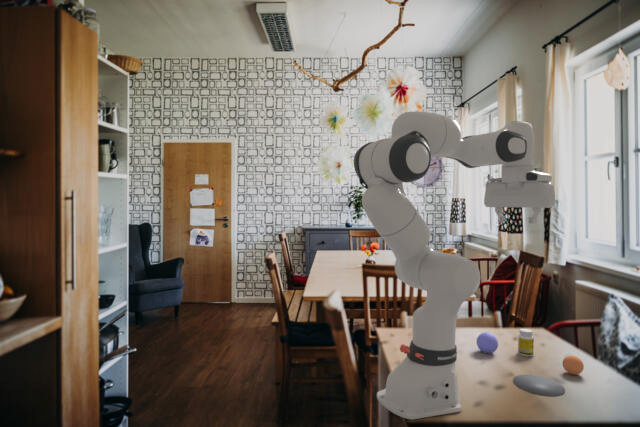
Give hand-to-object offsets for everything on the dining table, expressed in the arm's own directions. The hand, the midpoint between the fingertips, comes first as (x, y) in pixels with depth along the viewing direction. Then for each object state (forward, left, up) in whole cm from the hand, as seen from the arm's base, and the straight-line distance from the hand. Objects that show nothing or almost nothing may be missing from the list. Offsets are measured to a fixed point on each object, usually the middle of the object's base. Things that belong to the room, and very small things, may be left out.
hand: (516, 222), depth 119 cm
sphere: (+8, +16, -47) cm, 50 cm away
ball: (+17, -8, -44) cm, 48 cm away
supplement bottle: (+19, +9, -47) cm, 51 cm away
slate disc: (0, -8, -46) cm, 47 cm away
